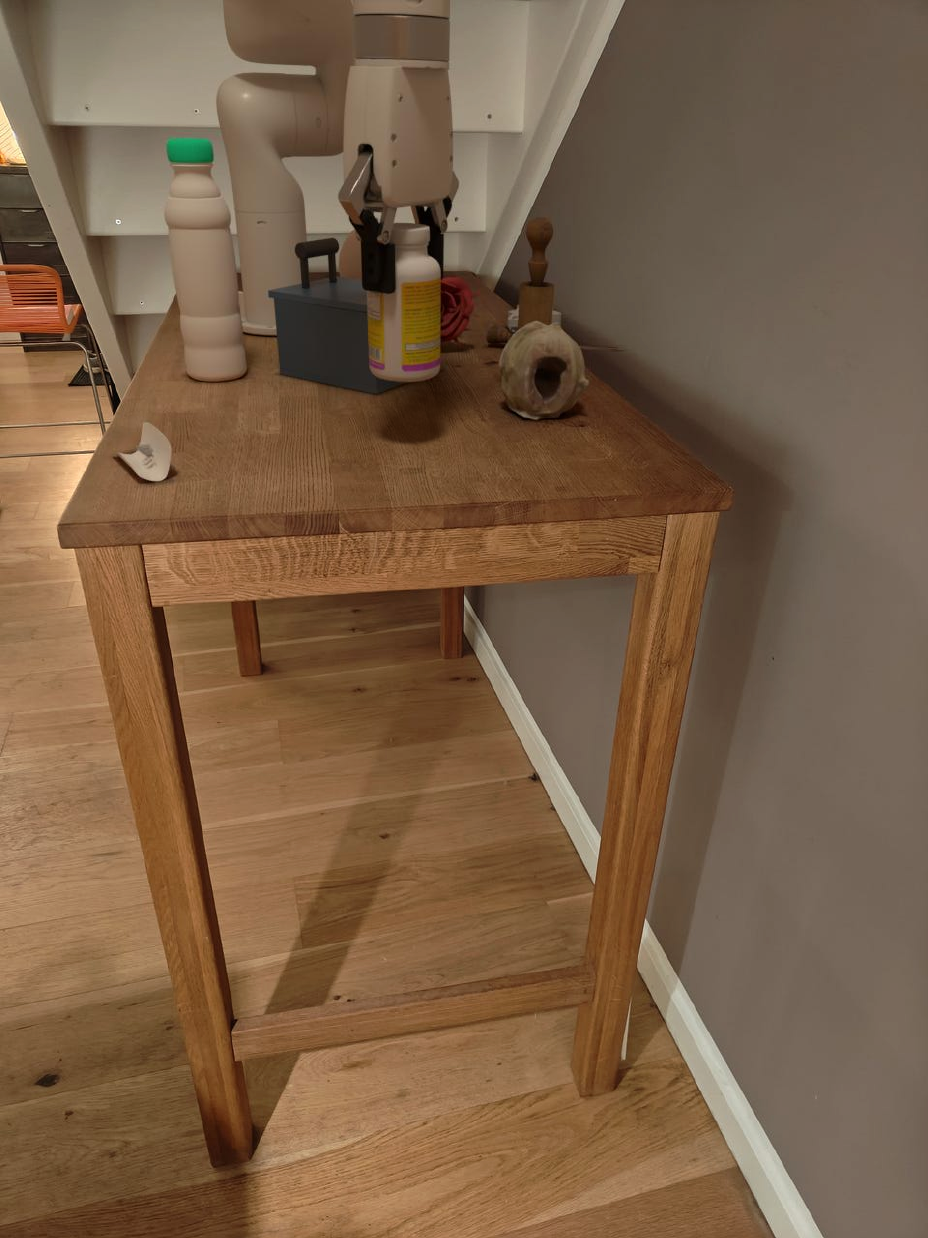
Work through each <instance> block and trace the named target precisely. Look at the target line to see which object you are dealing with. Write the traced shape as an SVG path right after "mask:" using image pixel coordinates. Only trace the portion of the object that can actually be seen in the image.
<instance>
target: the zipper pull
mask: <svg viewBox="0 0 928 1238" xmlns="http://www.w3.org/2000/svg"><path fill="white" fill-rule="evenodd" d="M518 314H519V304H517V305H516V309H512V310H508V311H507V323H506V326H507V328H508V330H510V331H512V332H515V333H516V332H517V331H518ZM555 322H556V323H559V325H560V327H561V328H562V313H561V312H560V311H557V310H554V306H552V320H551V324H552V323H555Z"/></svg>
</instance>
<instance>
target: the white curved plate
mask: <svg viewBox="0 0 928 1238" xmlns="http://www.w3.org/2000/svg"><path fill="white" fill-rule="evenodd" d="M109 448H110V449H111V450H112V451H113V452H114V453H115V454H116V455H117V456H118V457H119V458H120V459H121V460H122V461H123V462H124V463H125V464H126V465H127V466H128V467H129V468H131V470H132V471H133V472H134V473H136V475H137V476H139V477H140V478H141V479H144V480H147V481H152V482H160V481H163V480H165V479H166V478H167V476H168V474H169V471H170V467H171V463H172V462H171V461H172V453H173V450H172V445H171V442H170V440H169V439H168V438H167V436H166V435H165V434H164V433H163V432H162V431H160V430H159V429H158V428H157V427H156V426H155V425H154V424H152V423H150V422H148V421H144V422H143V423H142V428H141V437H140V442H139V445H135V448H136V451H135V452H134V453H123V452H119V451H117V449H115V448H114V447H113V446H112V445H109Z"/></svg>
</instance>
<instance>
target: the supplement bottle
mask: <svg viewBox="0 0 928 1238" xmlns="http://www.w3.org/2000/svg"><path fill="white" fill-rule="evenodd" d="M429 241H430V228H429V226H427V225H423V224H415V222H394V224H393V228H392V232H391V236H390V240H389V242H388V243H394V244H395V283H396V289H395V292H394V293H391V294H385V293H379V292H373V291H367V313H368V342H369V365H370V370H371V372H372V373H373V374H374V375H375V376H376V377H378V378H380V379H384V380H389V381H397V382H407V383H415V382H423V381H426V380H427V381H428V380H430V379H431V378H434V377H436V376H437V375H438V374H439V372H440V369H441V343H440V308H441V271H440V266H439V264H438V262H437V261H436V260H435V259H434V258H432V257H431V256H429V255H428V253H427V246H428V244H429V243H428V242H429Z"/></svg>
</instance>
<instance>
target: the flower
mask: <svg viewBox="0 0 928 1238" xmlns="http://www.w3.org/2000/svg"><path fill="white" fill-rule="evenodd" d="M480 294H481V295H482V292H476V293H472V288H471V286H469V284H468V283H466V282H465V281H464V280H463V278H460V277H457V276H456V277H455V276H447V277H443V279H442V280H441V308H440V344H443V343H448V342H451V341H454V342H455V344H456V345H457V346H458V347H459V348H460V349H461V350H464V348H463V346H462V344H461V342H460V341H459V339H458V337H459V336H461V334H462V333H463V332H464V331H465V330H466V329H467V326H468V324H469V322H470V315H471V314H472V312H473V311H474V308H475V304H474V301H473V300H472V299H473V298H476V297H477V296H479V295H480Z"/></svg>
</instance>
